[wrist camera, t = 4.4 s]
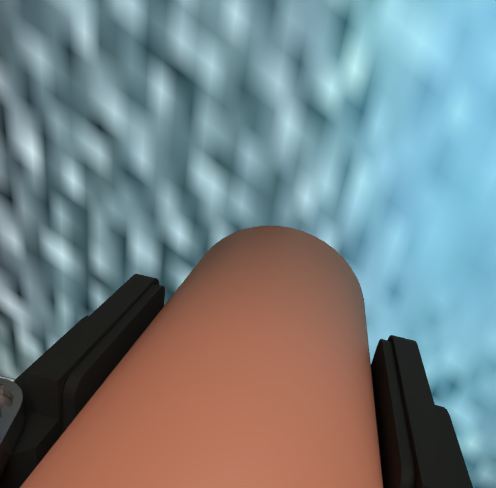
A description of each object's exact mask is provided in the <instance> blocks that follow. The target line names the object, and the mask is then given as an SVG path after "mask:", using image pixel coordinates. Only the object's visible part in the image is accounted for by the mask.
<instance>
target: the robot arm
mask: <svg viewBox="0 0 496 488" xmlns="http://www.w3.org/2000/svg"><path fill="white" fill-rule="evenodd" d="M164 296H165V288H164V286H161V285H159V280H158V279H156V278H152V277H148V276H144V275H139V274H135V275H133V276H132V277H131V278H130V279H129V280H128V281H127V282H126V283H125V284H124V285H122V286H121V287H120V288H119V289H118V290H117V291H116V292H115V293H114V294H113V295H112V296H111V297H109V298H108V299H107V300H106V301H105V302H104V303H103V304H102V305H101V306H100V307H99V308H98V309H97V310H95V311H94V312H93V313H92V314H91V315H90V316H86V317H84V318H83V319H81V320H80V321H79V322H78V323H77V324H76V325H75V326H74V327H73V328H72V329H70V330H69V331H68V332H67V333H66V334H65V335H64V336H63V337H62V338H61V339H59V340H58V341H57V342H56V343H55V344H54V345H53V346H52V347H51V348H50V349H48V350H47V351H46V352H45V353H44V354H43V355H42V356H41V357H40V358H39V359H37V360H36V361H35V362H34V363H33V364H32V365H31V366H30V367H29V368H28V369H26V370H25V371H24V372H23V373H22V374H21V375H20V376H19V377H18V378H17V379H15V380H14V381H13V382H12V381H10V380H8V379H5V378H0V488H20V487H21V485H22V484H23V483H24V482H25V480H26V479H27V478H28V477H29V475H30V474H31V473H32V472H33V470H34V469H35V468H36V467H37V465H38V464H39V463H40V462H41V460H42V459H43V458H44V456H45V455H46V454H47V453H48V451H49V450H50V449H51V448H52V446H53V445H54V444H55V443H56V441H57V440H58V439H59V438H60V436H61V435H62V434H63V433H64V431H65V430H66V429H67V428H68V426H69V425H70V424H71V423H72V421H73V420H74V419H75V418H76V416H77V415H78V414H79V412H80V411H81V410H82V409H83V407H84V406H85V405H86V404H87V402H88V401H89V400H90V399H91V397H92V396H93V395H94V394H95V392H96V391H97V390H98V389H99V387H100V386H101V385H102V384H103V382H104V381H105V380H106V379H107V377H108V376H109V375H110V374H111V372H112V371H113V370H114V368H115V367H116V366H117V365H118V363H119V362H120V361H121V360H122V358H123V357H124V356H125V355H126V353H127V352H128V351H129V350H130V348H131V347H132V346H133V345H134V343H135V342H136V341H137V340H138V338H139V337H140V336H141V335H142V333H143V332H144V331H145V330H146V328H147V327H148V326H149V324H150V323H151V322H152V321H153V319H154V318H155V317H156V316H157V314H158V313H159V312H160V311H161V309H162V308H163V307H164ZM371 374H372V384H373V393H374V403H375V413H376V423H377V432H378V442H379V452H380V461H381V471H382V481H383V488H473V487H472V483H471V480H470V477H469V474H468V471H467V468H466V465H465V462H464V459H463V456H462V452H461V449H460V446H459V443H458V440H457V437H456V434H455V431H454V428H453V424H452V421H451V418H450V415H449V413H448V411H447V409H445V408H444V407H441V406H438V405H435V404H434V401H433V397H432V394H431V391H430V387H429V384H428V380H427V377H426V373H425V370H424V366H423V363H422V359H421V356H420V352H419V349H418V345H417V343H416V341H413V340H409V339H405V338H401V337H397V336H392V335H391V336H390V337H389V338H388V340H383V339H380V341H379V343H378V345H377V348H376V351H375V355H374V358H373V361H372V364H371Z"/></svg>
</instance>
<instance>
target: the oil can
mask: <svg viewBox="0 0 496 488" xmlns="http://www.w3.org/2000/svg"><path fill="white" fill-rule="evenodd" d="M20 488H383V481H382V471H381V461H380V452H379V442H378V432H377V423H376V413H375V403H374V393H373V384H372V374H371V364H370V354H369V345H368V335H367V325H366V315H365V306H364V298H363V294H362V290H361V287H360V284H359V282H358V279H357V277H356V275H355V274H354V272H353V270H352V269H351V267H350V266H349V265H348V263H347V262H346V261H345V259H344V258H343V257H342V256H341V255H340V254H339V253H338V252H337V251H336V250H335V249H333V248H332V247H331V246H329V245H328V244H327V243H325V242H324V241H322V240H320V239H318V238H317V237H315V236H313V235H310V234H308V233H305V232H303V231H300V230H296V229H293V228H288V227H281V226H259V227H252V228H248V229H243V230H241V231H238V232H235V233H233V234H231V235H229V236H227V237H225V238H223V239H222V240H220V241H219V242H218V243H216V244H215V245H214V246H213V247H212V248H211V249H210V250H209V251H208V252H207V253H206V254H205V255H204V257H203V258H202V259H201V260H200V262H199V263H198V264H197V265H196V267H195V268H194V269H193V270H192V272H191V273H190V274H189V275H188V277H187V278H186V279H185V280H184V282H183V283H182V284H181V286H180V287H179V288H178V289H177V291H176V292H175V293H174V294H173V296H172V297H171V298H170V299H169V301H168V302H167V303H166V304H165V306H164V307H163V308H162V309H161V311H160V312H159V313H158V314H157V316H156V317H155V318H154V319H153V321H152V322H151V323H150V324H149V326H148V327H147V328H146V330H145V331H144V332H143V333H142V335H141V336H140V337H139V338H138V340H137V341H136V342H135V343H134V345H133V346H132V347H131V348H130V350H129V351H128V352H127V353H126V355H125V356H124V357H123V358H122V360H121V361H120V362H119V363H118V365H117V366H116V367H115V368H114V370H113V371H112V372H111V374H110V375H109V376H108V377H107V379H106V380H105V381H104V382H103V384H102V385H101V386H100V387H99V389H98V390H97V391H96V392H95V394H94V395H93V396H92V397H91V399H90V400H89V401H88V402H87V404H86V405H85V406H84V407H83V409H82V410H81V411H80V412H79V414H78V415H77V416H76V418H75V419H74V420H73V421H72V423H71V424H70V425H69V426H68V428H67V429H66V430H65V431H64V433H63V434H62V435H61V436H60V438H59V439H58V440H57V441H56V443H55V444H54V445H53V446H52V448H51V449H50V450H49V451H48V453H47V454H46V455H45V456H44V458H43V459H42V460H41V462H40V463H39V464H38V465H37V467H36V468H35V469H34V470H33V472H32V473H31V474H30V475H29V477H28V478H27V479H26V480H25V482H24V483H23V484H22V485H21V487H20Z"/></svg>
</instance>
